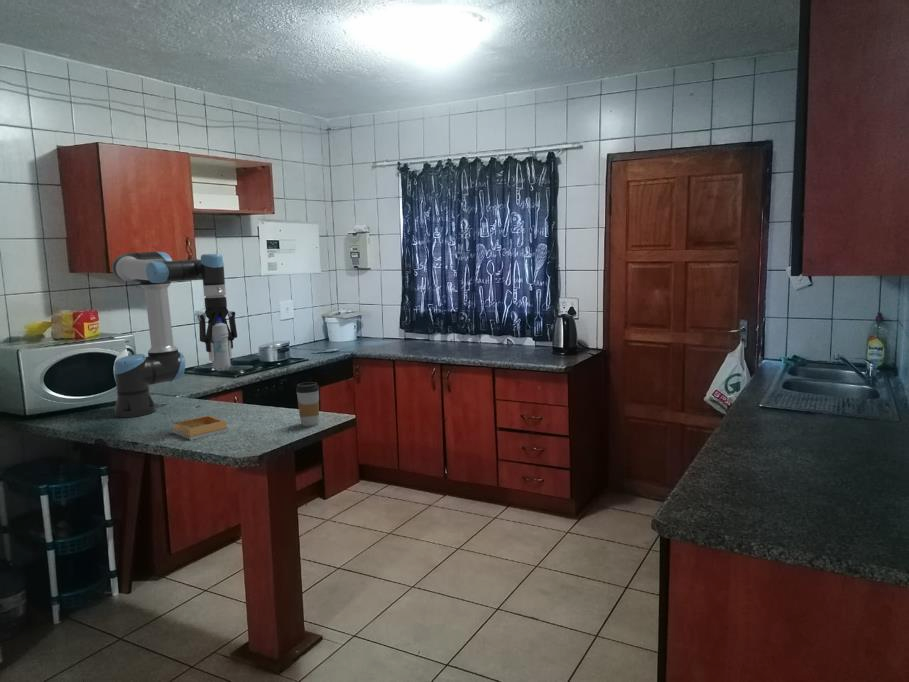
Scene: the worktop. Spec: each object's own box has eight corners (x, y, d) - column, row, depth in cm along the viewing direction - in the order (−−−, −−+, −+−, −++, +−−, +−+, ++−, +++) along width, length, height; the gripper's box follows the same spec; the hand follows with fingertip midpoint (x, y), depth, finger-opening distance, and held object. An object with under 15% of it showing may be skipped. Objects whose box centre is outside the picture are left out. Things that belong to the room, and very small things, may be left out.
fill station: (172, 432, 238) (171, 422, 237) (210, 424, 247) (209, 414, 247) (190, 440, 227) (189, 430, 226) (228, 431, 237) (227, 421, 236)
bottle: (225, 371, 240) (220, 316, 237) (208, 371, 241) (203, 316, 238) (234, 367, 246) (230, 314, 243) (218, 367, 247) (213, 314, 244)
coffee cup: (296, 423, 245) (293, 383, 242) (318, 419, 248) (316, 380, 246) (300, 428, 237) (297, 387, 235) (323, 425, 240) (321, 385, 238)
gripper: (194, 299, 230) (200, 364, 234) (244, 294, 244) (249, 356, 247) (184, 298, 235) (191, 362, 239) (234, 294, 249) (239, 354, 252)
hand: (220, 359), depth 243 cm, fingers closed on bottle, 6 cm apart
